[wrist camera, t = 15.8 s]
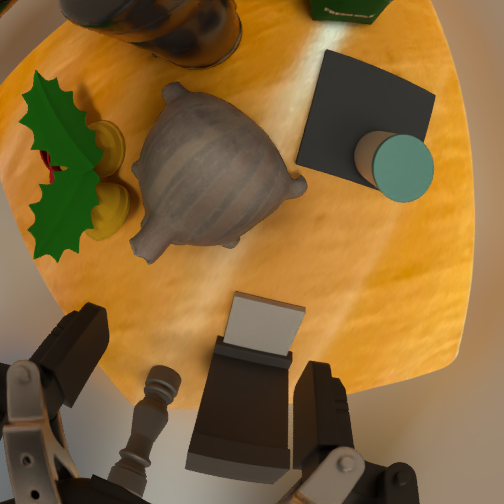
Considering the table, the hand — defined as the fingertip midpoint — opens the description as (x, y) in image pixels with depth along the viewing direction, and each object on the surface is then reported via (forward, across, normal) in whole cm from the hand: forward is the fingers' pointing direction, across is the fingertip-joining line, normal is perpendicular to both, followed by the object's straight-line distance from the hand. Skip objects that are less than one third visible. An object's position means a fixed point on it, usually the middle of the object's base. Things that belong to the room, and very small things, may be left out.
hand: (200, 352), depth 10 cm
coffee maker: (+26, -6, +23) cm, 35 cm away
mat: (+26, -11, -11) cm, 30 cm away
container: (+25, -13, -8) cm, 29 cm away
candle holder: (+26, +9, +38) cm, 47 cm away
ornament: (+26, +21, -1) cm, 33 cm away
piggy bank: (+26, +6, -1) cm, 27 cm away
